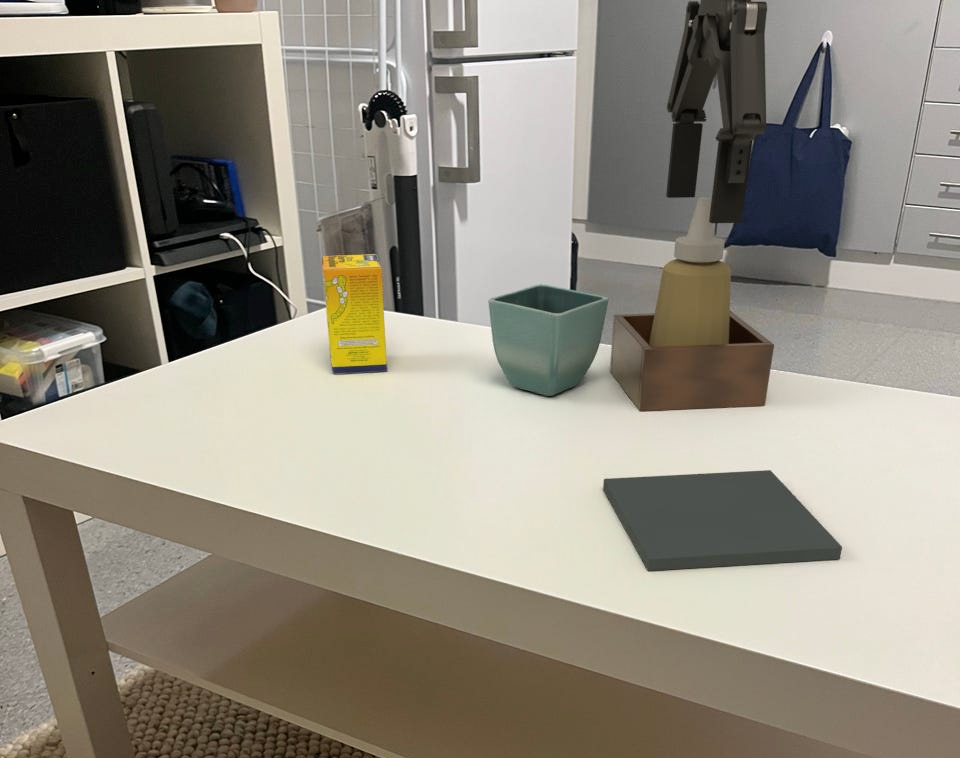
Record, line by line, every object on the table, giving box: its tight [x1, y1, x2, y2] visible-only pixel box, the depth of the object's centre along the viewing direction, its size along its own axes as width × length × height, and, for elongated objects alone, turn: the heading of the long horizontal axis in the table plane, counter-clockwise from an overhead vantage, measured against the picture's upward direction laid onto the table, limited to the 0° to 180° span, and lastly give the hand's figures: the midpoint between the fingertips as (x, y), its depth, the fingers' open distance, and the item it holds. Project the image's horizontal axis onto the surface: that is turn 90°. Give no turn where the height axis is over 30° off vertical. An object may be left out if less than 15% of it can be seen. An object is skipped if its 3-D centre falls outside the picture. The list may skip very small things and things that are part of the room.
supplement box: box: [321, 253, 388, 375], centre depth 107 cm, size 6×6×11 cm
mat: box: [602, 469, 843, 572], centre depth 77 cm, size 14×14×1 cm
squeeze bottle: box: [649, 196, 732, 347], centre depth 99 cm, size 8×8×18 cm
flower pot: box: [487, 283, 610, 397], centre depth 102 cm, size 9×9×9 cm
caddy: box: [609, 310, 775, 412], centre depth 102 cm, size 13×13×6 cm
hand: (701, 209), depth 95 cm, fingers open, 13 cm apart
